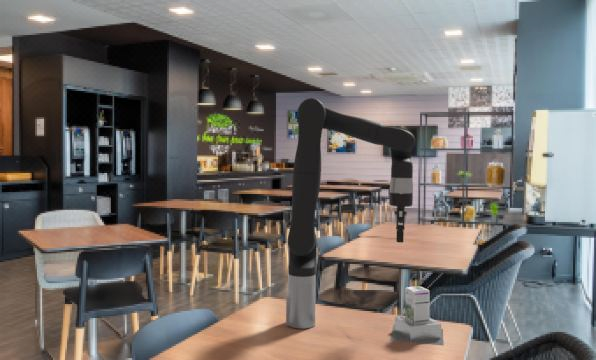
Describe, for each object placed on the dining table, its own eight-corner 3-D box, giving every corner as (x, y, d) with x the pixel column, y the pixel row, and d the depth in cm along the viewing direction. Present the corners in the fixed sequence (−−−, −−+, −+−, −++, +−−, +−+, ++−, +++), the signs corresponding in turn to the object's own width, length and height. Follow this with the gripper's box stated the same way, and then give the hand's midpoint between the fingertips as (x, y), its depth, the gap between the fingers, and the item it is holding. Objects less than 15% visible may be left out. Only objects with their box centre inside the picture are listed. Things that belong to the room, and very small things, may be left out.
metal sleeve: (410, 341, 158) (410, 326, 158) (394, 330, 168) (394, 316, 168) (440, 338, 161) (441, 323, 161) (423, 327, 171) (424, 314, 171)
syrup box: (430, 336, 163) (431, 289, 162) (413, 338, 161) (414, 291, 160) (420, 330, 168) (421, 285, 168) (403, 332, 166) (404, 286, 166)
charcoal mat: (390, 344, 159) (390, 340, 159) (393, 328, 174) (393, 324, 174) (443, 349, 155) (443, 345, 155) (442, 332, 170) (442, 328, 170)
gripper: (390, 189, 182) (388, 236, 182) (389, 192, 168) (387, 243, 168) (412, 190, 180) (410, 237, 181) (413, 193, 166) (411, 244, 167)
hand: (399, 240), depth 175 cm, fingers open, 8 cm apart
